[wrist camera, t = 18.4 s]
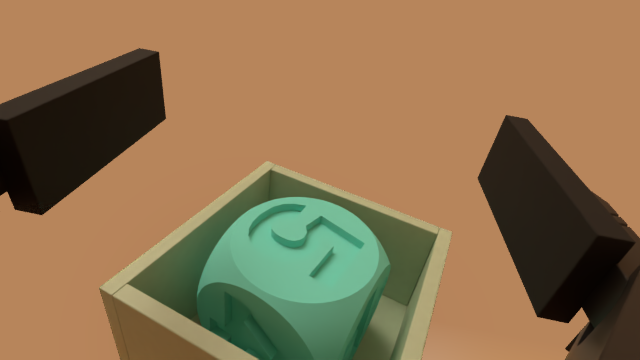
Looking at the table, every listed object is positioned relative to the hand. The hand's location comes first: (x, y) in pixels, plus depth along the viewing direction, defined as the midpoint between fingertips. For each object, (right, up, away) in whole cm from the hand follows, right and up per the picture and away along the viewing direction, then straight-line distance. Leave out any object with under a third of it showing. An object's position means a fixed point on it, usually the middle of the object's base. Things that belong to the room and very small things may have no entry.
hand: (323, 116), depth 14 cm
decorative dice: (-2, -12, +9) cm, 15 cm away
